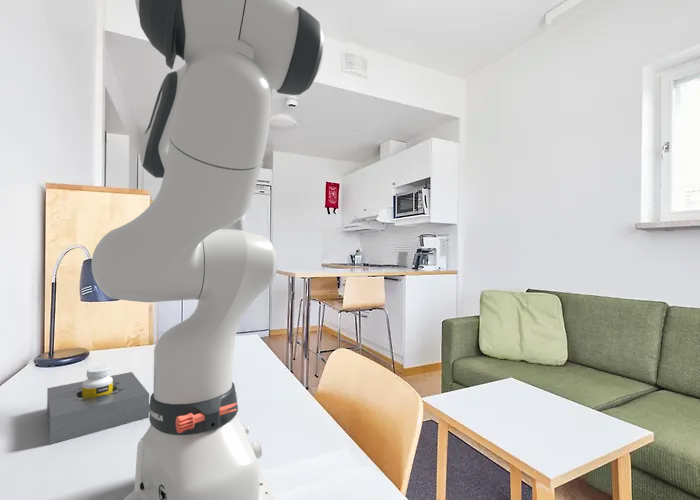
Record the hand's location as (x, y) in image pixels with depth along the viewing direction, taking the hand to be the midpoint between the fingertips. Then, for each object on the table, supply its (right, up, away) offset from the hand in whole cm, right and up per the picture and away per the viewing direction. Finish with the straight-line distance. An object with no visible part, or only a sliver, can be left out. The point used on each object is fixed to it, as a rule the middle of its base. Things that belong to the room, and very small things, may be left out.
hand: (201, 256), depth 86 cm
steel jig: (-18, -34, -10) cm, 40 cm away
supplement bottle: (-18, -34, -10) cm, 40 cm away
